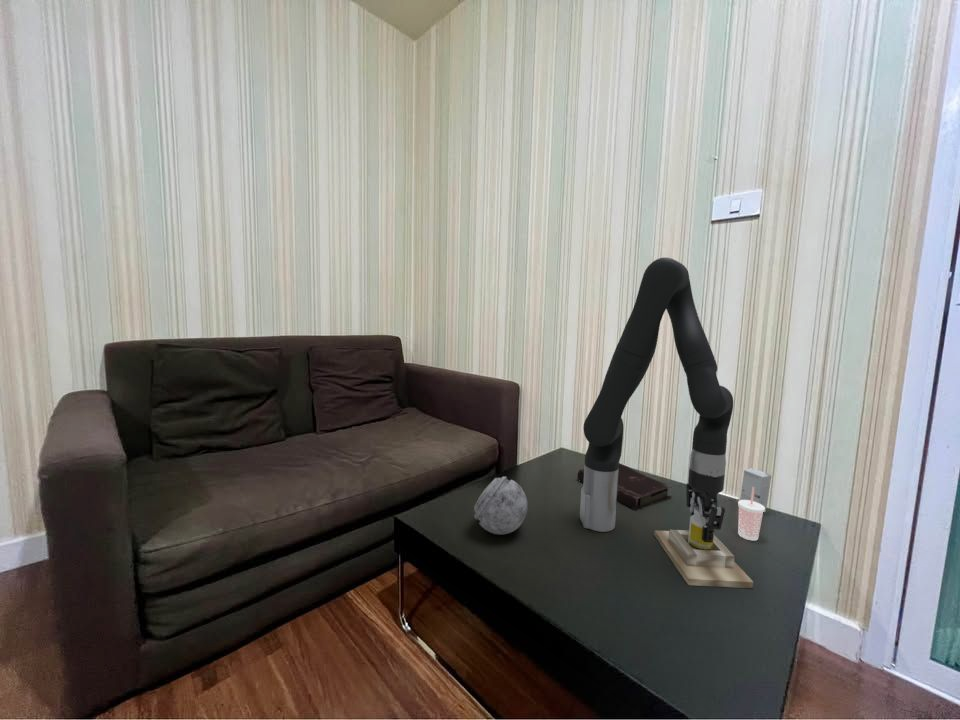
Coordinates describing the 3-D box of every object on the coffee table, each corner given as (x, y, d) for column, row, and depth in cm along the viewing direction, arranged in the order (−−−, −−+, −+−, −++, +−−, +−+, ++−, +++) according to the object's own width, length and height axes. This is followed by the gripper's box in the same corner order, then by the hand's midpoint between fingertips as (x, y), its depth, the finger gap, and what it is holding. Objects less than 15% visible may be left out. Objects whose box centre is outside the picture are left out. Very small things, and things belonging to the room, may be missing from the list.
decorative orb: (484, 513, 120) (485, 464, 119) (532, 523, 115) (534, 472, 113) (465, 538, 107) (466, 484, 105) (518, 551, 102) (520, 494, 100)
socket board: (688, 585, 90) (690, 566, 90) (654, 535, 110) (655, 519, 110) (752, 588, 90) (754, 569, 89) (706, 537, 109) (708, 522, 109)
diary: (635, 513, 124) (635, 497, 123) (576, 482, 145) (577, 469, 144) (672, 499, 133) (674, 484, 132) (613, 472, 154) (613, 459, 154)
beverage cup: (741, 541, 108) (746, 491, 107) (730, 528, 114) (735, 481, 113) (766, 543, 107) (772, 493, 106) (754, 530, 114) (759, 483, 112)
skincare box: (738, 505, 128) (742, 469, 127) (747, 503, 130) (751, 467, 128) (758, 515, 123) (762, 476, 121) (767, 512, 124) (772, 474, 123)
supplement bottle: (715, 555, 96) (719, 516, 95) (691, 552, 97) (694, 514, 96) (707, 542, 102) (711, 506, 100) (684, 540, 103) (687, 503, 101)
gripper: (677, 457, 104) (672, 519, 106) (706, 480, 90) (699, 551, 92) (707, 458, 104) (701, 520, 106) (740, 481, 90) (733, 552, 92)
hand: (700, 534), depth 99 cm, fingers closed on supplement bottle, 5 cm apart
